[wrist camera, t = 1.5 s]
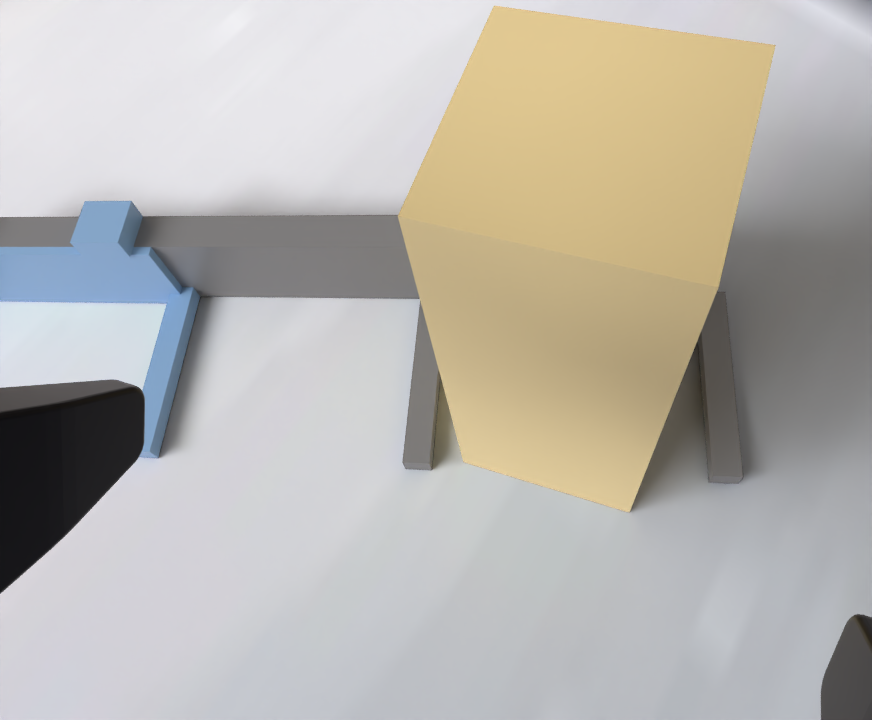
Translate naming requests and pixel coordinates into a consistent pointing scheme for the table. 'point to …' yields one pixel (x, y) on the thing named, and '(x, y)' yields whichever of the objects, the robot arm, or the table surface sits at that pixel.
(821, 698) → the robot arm
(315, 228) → the gray bench frame
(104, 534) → the table surface
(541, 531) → the table surface
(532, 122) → the wooden block
